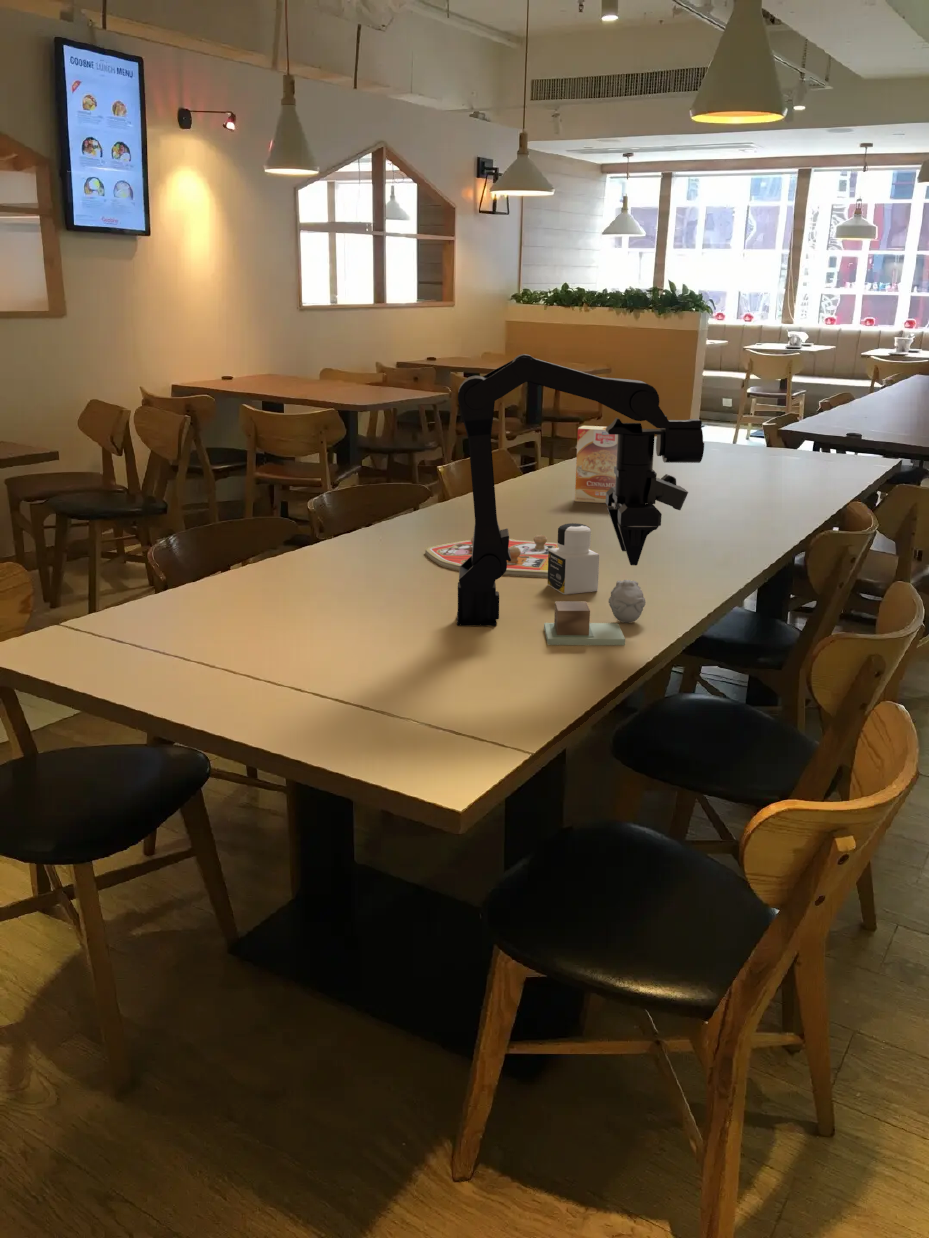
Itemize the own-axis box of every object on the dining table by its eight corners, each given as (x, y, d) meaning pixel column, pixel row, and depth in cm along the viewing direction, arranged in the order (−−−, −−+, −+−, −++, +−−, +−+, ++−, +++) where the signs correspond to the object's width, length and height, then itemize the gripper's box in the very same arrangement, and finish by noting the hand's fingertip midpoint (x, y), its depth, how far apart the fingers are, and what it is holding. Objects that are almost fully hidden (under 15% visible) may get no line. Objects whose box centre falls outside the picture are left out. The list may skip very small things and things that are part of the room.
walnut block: (557, 635, 155) (557, 610, 153) (554, 625, 159) (555, 601, 158) (588, 635, 155) (590, 610, 153) (585, 625, 159) (586, 601, 158)
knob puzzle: (555, 583, 190) (556, 560, 188) (407, 574, 195) (407, 551, 194) (572, 547, 217) (572, 527, 215) (441, 540, 223) (441, 521, 221)
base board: (547, 644, 154) (547, 638, 153) (544, 628, 161) (544, 622, 161) (624, 645, 154) (625, 638, 153) (617, 628, 161) (617, 622, 161)
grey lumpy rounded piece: (639, 615, 168) (642, 575, 166) (648, 628, 162) (651, 587, 160) (604, 615, 168) (606, 575, 166) (611, 628, 162) (613, 587, 159)
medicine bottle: (546, 585, 186) (548, 522, 182) (580, 581, 188) (583, 520, 185) (563, 595, 180) (565, 530, 176) (598, 591, 182) (601, 527, 178)
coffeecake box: (574, 501, 264) (576, 428, 258) (579, 497, 270) (581, 425, 264) (630, 505, 260) (634, 430, 254) (634, 500, 266) (638, 427, 260)
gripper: (698, 472, 148) (690, 573, 153) (673, 454, 166) (667, 544, 170) (623, 472, 148) (618, 572, 153) (607, 453, 166) (603, 544, 170)
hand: (629, 557), depth 162 cm, fingers open, 9 cm apart
